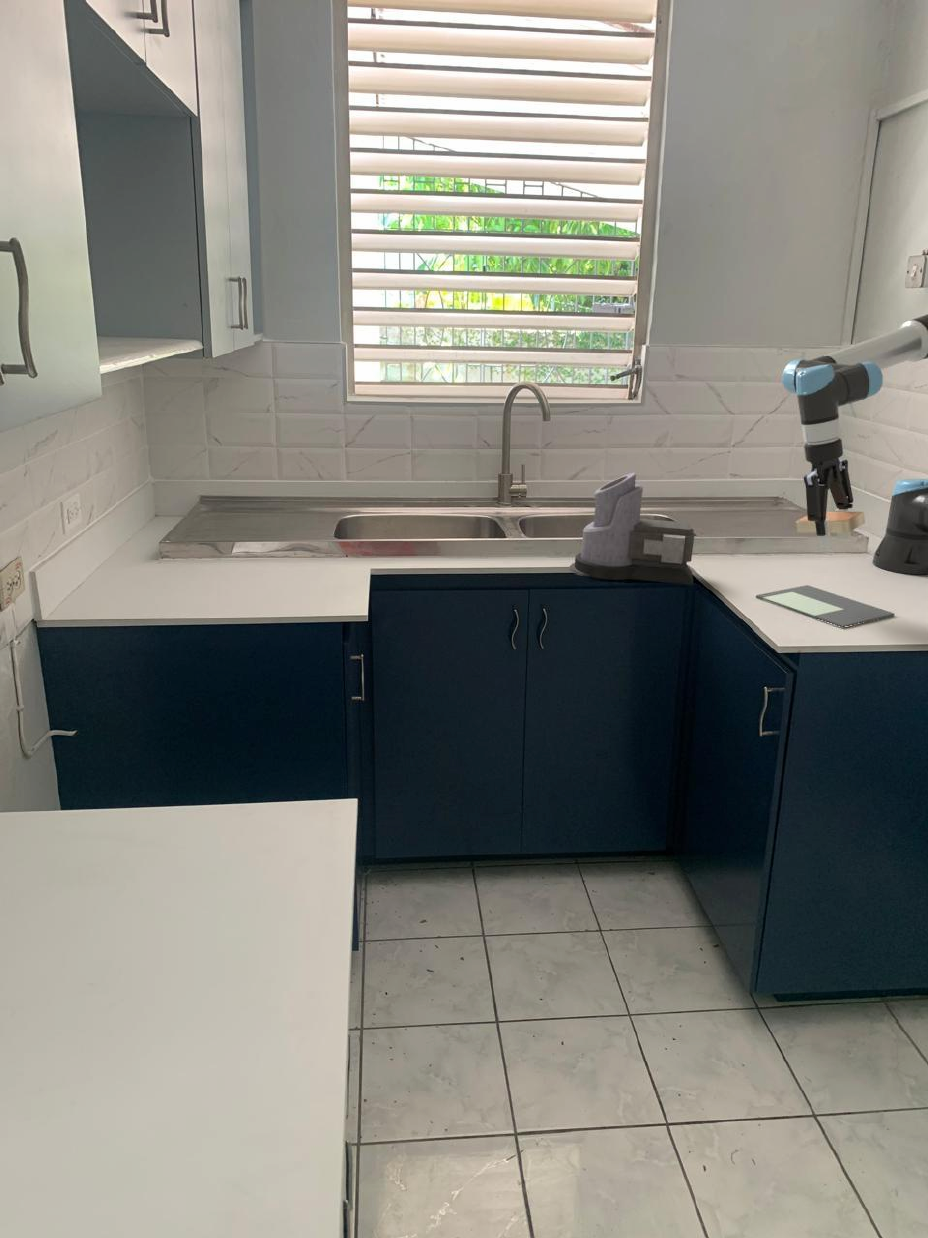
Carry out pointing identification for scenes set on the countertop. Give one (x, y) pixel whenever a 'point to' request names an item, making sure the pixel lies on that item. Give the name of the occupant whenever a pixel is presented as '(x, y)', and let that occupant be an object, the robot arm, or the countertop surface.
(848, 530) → the kitchen sponge
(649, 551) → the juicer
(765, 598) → the mat
